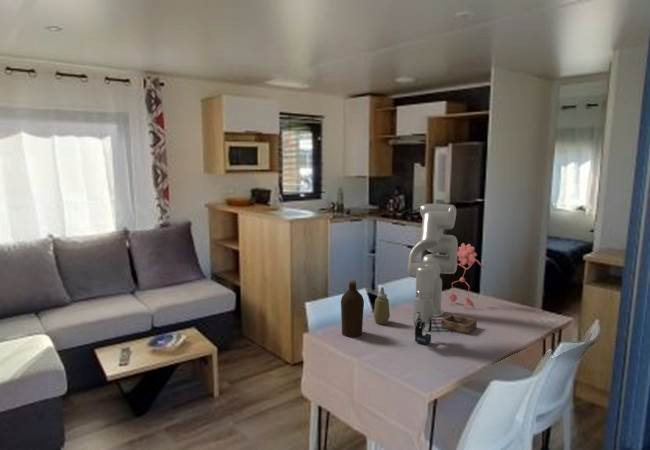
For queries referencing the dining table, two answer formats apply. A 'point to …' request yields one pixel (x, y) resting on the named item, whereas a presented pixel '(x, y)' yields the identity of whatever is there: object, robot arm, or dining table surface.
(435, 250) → the robot arm
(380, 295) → the squeeze bottle
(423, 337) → the watch
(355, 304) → the olive oil
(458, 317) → the wooden tray
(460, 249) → the figurine
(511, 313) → the dining table surface
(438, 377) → the dining table surface
